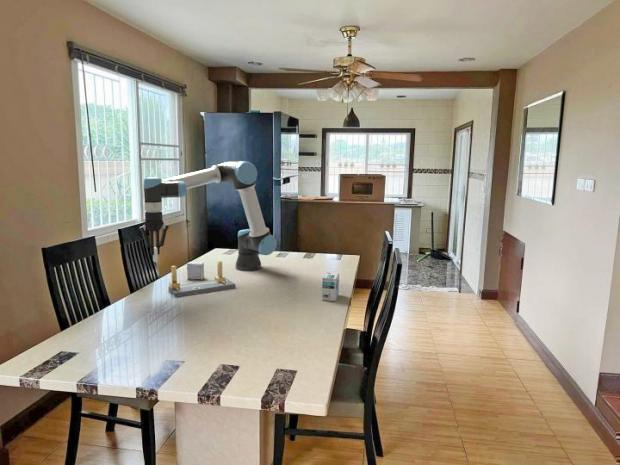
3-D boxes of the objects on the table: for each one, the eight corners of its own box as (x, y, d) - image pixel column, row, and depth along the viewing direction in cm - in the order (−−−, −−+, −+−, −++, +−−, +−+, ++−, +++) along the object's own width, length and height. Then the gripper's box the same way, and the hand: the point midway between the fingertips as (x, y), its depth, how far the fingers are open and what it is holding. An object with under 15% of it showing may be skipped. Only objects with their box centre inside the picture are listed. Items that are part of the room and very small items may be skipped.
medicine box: (204, 277, 238) (204, 262, 237) (201, 280, 234) (201, 264, 232) (190, 277, 239) (189, 261, 238) (187, 279, 235) (186, 263, 233)
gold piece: (177, 285, 216) (176, 264, 214) (182, 290, 208) (181, 268, 207) (169, 286, 214) (168, 265, 212) (173, 291, 206) (173, 269, 204)
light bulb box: (335, 301, 202) (336, 278, 200) (321, 300, 203) (321, 277, 201) (339, 294, 212) (339, 272, 210) (325, 293, 214) (325, 272, 212)
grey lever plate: (226, 281, 231) (226, 258, 229) (235, 287, 221) (235, 263, 219) (168, 290, 215) (167, 265, 213) (174, 297, 205) (173, 271, 203)
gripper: (140, 212, 196) (142, 264, 199) (170, 211, 202) (171, 261, 206) (137, 211, 202) (139, 261, 206) (166, 209, 209) (167, 258, 213)
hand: (155, 261), depth 206 cm, fingers closed
